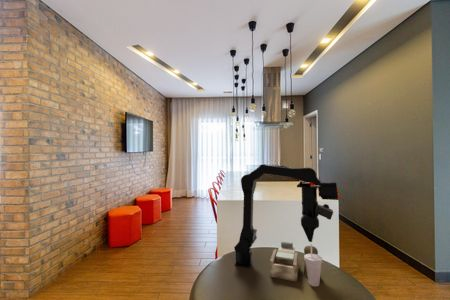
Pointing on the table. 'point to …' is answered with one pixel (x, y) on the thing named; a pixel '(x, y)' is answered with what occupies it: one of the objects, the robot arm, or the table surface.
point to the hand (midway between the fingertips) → (310, 237)
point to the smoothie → (313, 268)
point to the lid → (286, 251)
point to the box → (284, 267)
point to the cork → (308, 251)
